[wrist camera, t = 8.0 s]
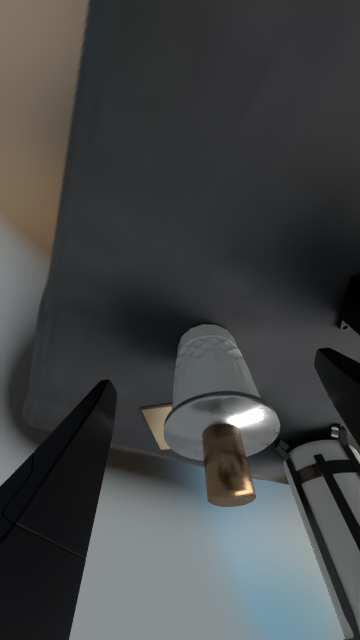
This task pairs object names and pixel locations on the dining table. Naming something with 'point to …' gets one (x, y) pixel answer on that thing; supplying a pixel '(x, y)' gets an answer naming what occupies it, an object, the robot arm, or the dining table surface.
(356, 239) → the dining table surface
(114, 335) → the dining table surface
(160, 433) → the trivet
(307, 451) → the coffee press
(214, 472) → the lid
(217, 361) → the white cup
